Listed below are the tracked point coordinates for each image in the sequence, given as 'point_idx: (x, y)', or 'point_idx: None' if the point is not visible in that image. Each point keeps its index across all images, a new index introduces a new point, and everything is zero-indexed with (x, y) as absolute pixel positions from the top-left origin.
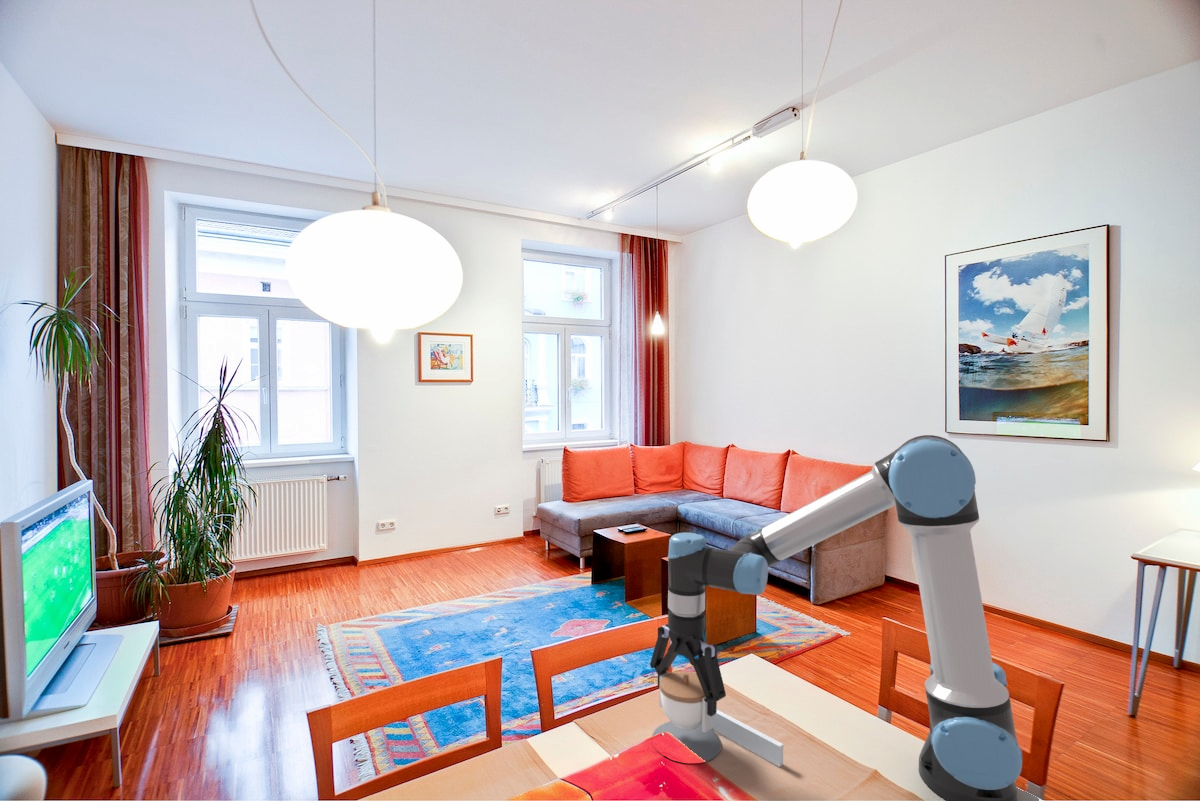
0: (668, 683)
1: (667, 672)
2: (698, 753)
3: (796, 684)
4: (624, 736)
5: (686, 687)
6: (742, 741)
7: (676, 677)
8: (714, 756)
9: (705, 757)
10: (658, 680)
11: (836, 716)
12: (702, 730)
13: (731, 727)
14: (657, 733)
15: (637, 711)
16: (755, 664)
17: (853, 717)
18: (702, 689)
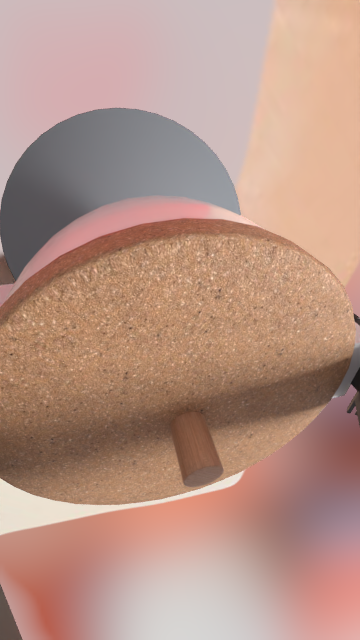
0: (280, 331)
1: (345, 389)
2: (50, 236)
3: (139, 504)
4: (307, 74)
5: (140, 404)
6: None
7: (275, 405)
8: (11, 270)
9: (18, 241)
10: (356, 321)
11: (28, 515)
12: (12, 285)
13: None
14: (221, 197)
15: (332, 231)
16: (221, 484)
17: (11, 529)
18: (51, 466)
